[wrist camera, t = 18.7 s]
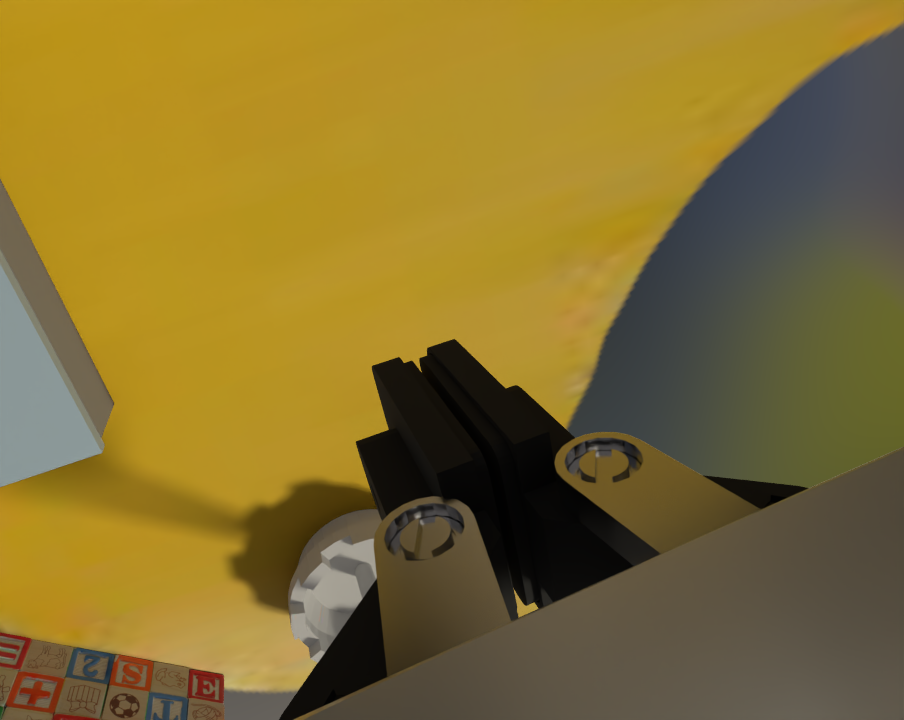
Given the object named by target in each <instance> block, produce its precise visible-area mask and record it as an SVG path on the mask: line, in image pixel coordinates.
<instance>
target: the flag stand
mask: <svg viewBox="0 0 904 720" xmlns="http://www.w3.org/2000/svg"><path fill="white" fill-rule="evenodd" d="M381 522H382V520H381V518H380V515H379V512H378V509H366V510H359V511H354V512H351V513H348V514H344V515H342V516H340V517H338V518H336V519H334V520H332V521H330V522H329V523H328V524H326V525H325V526H323V527H322V528H321V529H320V530H319V531H317V532H316V533H315V534H314V535H313V536H312V538H311V539H310V540H309V542H308V543H307V544H306V546H305V547H304V550H303V552H302V554H301V556H300V559H299V563H298V567H297V569H296V571H295V573H294V575H293V577H292V580H291V583H290V588H289V592H288V607H289V615H290V623H291V629H292V632H293V636H294V639H298V638H299V639H300V640H301V641H302V642H303V643H304V644H305V645H306V646H308V647H309V652H310V658H311V659H312V660H314V661H316V662H319V661H320V659H321V658H322V656H323V655H324V653H325V652H326V650H327V649H328V648H329V646H330V645H331V643H332V642H333V640H334V639H335V638H336V636H337V635H338V633H339V632H340V630H341V629H342V627H343V626H344V625H345V623H346V622H347V620H348V619H349V617H350V616H351V614H352V613H353V612H354V610H355V609H356V607H357V606H358V604H359V603H360V602H361V600H362V599H363V597H364V596H365V594H366V593H367V591H368V590H369V589H370V587H371V586H372V584H373V583H374V581H375V580H376V579H377V574H376V565H375V555H374V546H373V544H374V536H375V532H376V530H377V529H378V527H379V525H380V523H381Z"/></svg>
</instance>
